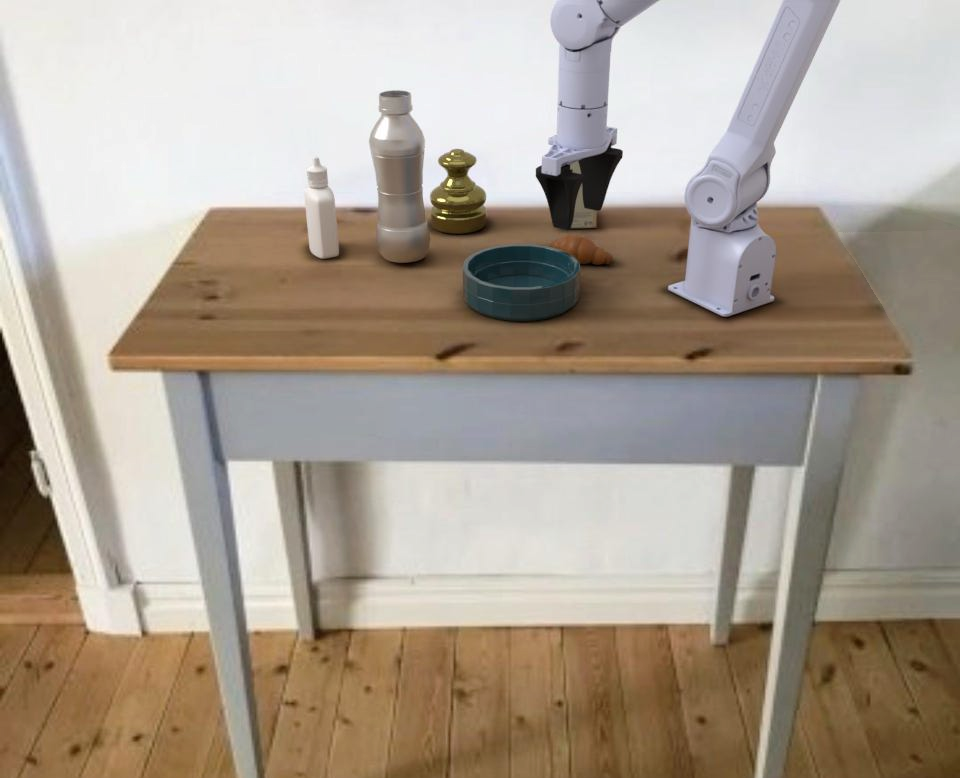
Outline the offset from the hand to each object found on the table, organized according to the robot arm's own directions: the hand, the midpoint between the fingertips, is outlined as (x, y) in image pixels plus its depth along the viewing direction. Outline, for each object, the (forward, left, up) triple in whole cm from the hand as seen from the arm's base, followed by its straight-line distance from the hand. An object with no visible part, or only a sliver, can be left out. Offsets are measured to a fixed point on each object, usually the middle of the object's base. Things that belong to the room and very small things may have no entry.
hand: (577, 218), depth 129 cm
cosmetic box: (+11, -9, -6) cm, 15 cm away
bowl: (-5, +12, -6) cm, 14 cm away
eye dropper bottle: (+21, +24, -6) cm, 32 cm away
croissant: (0, 0, -6) cm, 6 cm away
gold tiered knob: (+19, +5, -6) cm, 20 cm away
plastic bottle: (+13, +17, -6) cm, 22 cm away
